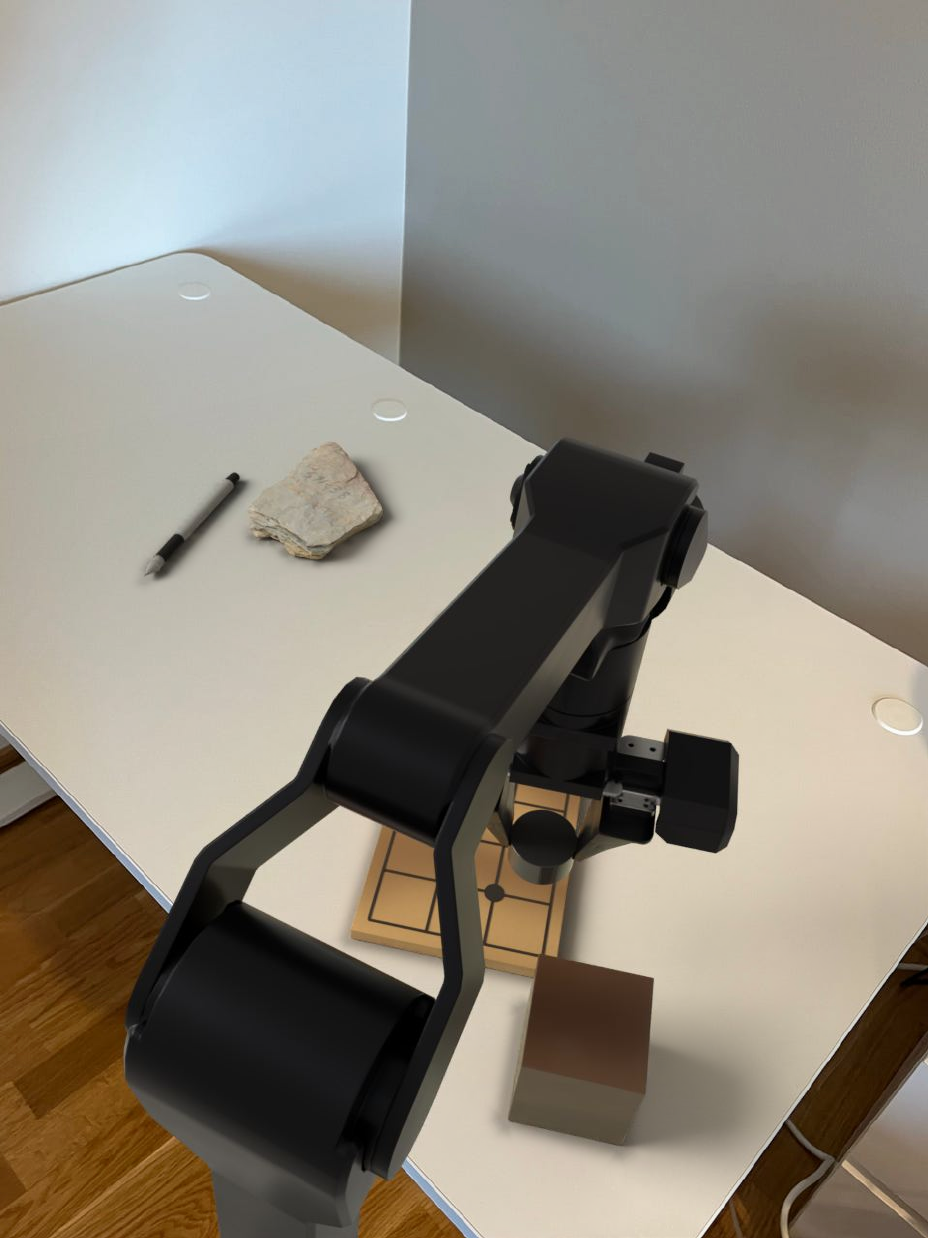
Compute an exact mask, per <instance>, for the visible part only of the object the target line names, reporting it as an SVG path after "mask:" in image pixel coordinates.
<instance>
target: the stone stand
mask: <svg viewBox="0 0 928 1238" xmlns="http://www.w3.org/2000/svg"><path fill="white" fill-rule="evenodd" d="M654 986H655V977H652V976H647V975H642V974H637V973H633V972H627V971H623V970H619V969H616V968H615V969H614V968H611V967H610V968H609V967H604V966H600V965H596V964H592V963H586V962H582V961H577V960H572V959H568V958H563V957H558V956H557V957H554V956H549V955H545V954H539V955H538V959H537V964H536V968H535V972H534V977H532V982H531V985H530V989H529V994H528V999H527V1003H526V1007H525V1011H524V1017H523V1024H522V1028H521V1034H520V1035H521V1036H520V1041H519V1048H518V1054H517V1059H516V1067H515V1072H514V1077H513V1083H512V1084H513V1085H512V1090H511V1096H510V1103H509V1108H508V1114H507V1115H508V1116H507V1120H508V1121H510V1122H514V1123H518V1124H523V1125H527V1126H532V1127H537V1128H541V1129H544V1130H548V1131H549V1130H550V1131H553V1132H558V1133H562V1134H567V1135H570V1136H575V1137H579V1138H585V1139H589V1140H593V1141H597V1142H602V1143H606V1144H610V1145H614V1146H619V1147H622V1145H623V1143H624V1141H625V1139H626V1137H627V1134H628V1132H629V1130H630V1128H631V1127H632V1124H633V1121H634V1120H635V1118H636V1115H637V1113H638V1111H639V1108H640V1107H641V1105H642V1102H643V1100H644V1098H645V1095H646V1093H647V1080H648V1068H649V1056H650V1055H649V1053H650V1041H651V1027H652V1015H653V1014H652V1013H653V1001H654Z"/></svg>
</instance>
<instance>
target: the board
mask: <svg viewBox="0 0 928 1238" xmlns="http://www.w3.org/2000/svg"><path fill="white" fill-rule="evenodd" d="M581 798H582V797H580V796H575V795H570V794H565V793H560V792H555V791H550V790H545V789H541V788H536V787H531V786H526V785H521V784H516V783H514V821H513V824H514V822H515V821H516V820H517V819H518V818H519V817H520V816H521V815H523V814H524V813H527V812H529V811H532V810H540V809H541V810H550V811H553V812H556V813H558V814H560V815H562V816H564V817H565V818H566V819H567V820H568V821H569V822H570V823H571V824H572V825H573V827H574V829H575V831H576V832H577V825H578V819H579V812H580V805H581ZM433 852H434V849H433V848H430V847H428V846H426V845H424V844H422V843H420V842H417V841H415V840H413V839H411V838H409V837H407V836H404V835H402V834H400V833H398V832H396V831H393V830H391V829H389V828H387V827H385V826H383V825H381V828H380V831H379V834H378V837H377V842H376V845H375V848H374V852H373V855H372V858H371V861H370V865H369V867H368V871H367V874H366V877H365V881H364V884H363V886H362V887H363V888H362V891H361V894H360V898H359V900H358V904H357V906H356V907H357V908H356V911H355V914H354V917H353V920H352V924H351V926H350V927H351V928H350V938H351V939H353V940H357V941H362V942H368V943H370V944H371V943H372V944H376V945H380V946H386V947H391V948H394V949H400V950H405V951H409V952H413V953H418V954H423V955H427V956H432V957H435V958H436V957H437V958H441V959H443V958H442V946H441V935H440V924H439V913H438V902H437V891H436V880H435V869H434V858H433ZM507 852H508V847H507V846H503V845H501V844H500V842H499V841H498V840H497V839H496V838H495V837H494V835H493V834H492V833H491V832H490V831H489V830H488V829H487V828H486V829H485V832H484V834H483V836H482V839H481V841H480V843H479V846H478V848H477V850H476V853H475V868H476V878H477V888H478V898H479V908H480V918H481V928H482V938H483V947H484V957H485V967H486V969H491V970H492V969H493V970H496V971H501V972H506V973H510V974H515V975H519V976H524V977H528V978H533V977H534V972H535V968H536V964H537V959H538V955H539V954H545V955H549V956H554V957H558V956H559V949H560V942H561V941H560V940H561V935H562V928H563V922H564V916H565V915H564V914H565V909H566V908H565V907H566V901H567V895H568V894H567V893H568V886H569V880H570V873H571V871H570V872H569V874H568V875H567V876H566V877H565V878H564V879H562V880H561V881H559V882H557V883H554V884H550V885H537V884H533V883H530V882H527V881H525V880H523V879H522V878H520V877H519V876H518V875H517V874H516V873H515V872H514V871H513V869H512V868H511V866H510V864H509V861H508V856H507Z"/></svg>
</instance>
